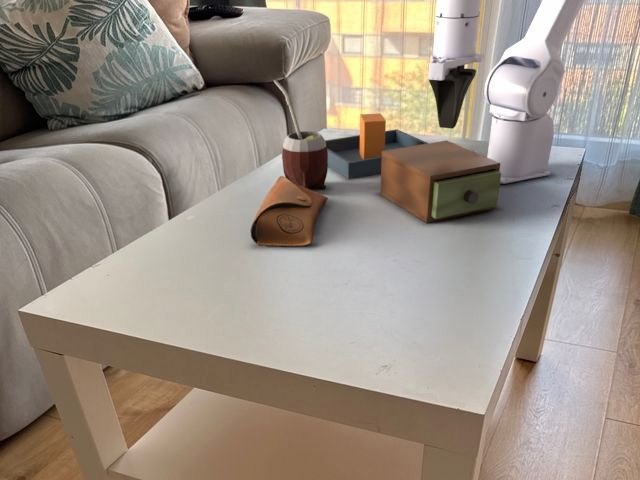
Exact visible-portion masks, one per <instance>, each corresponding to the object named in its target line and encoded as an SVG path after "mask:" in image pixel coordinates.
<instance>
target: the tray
mask: <svg viewBox="0 0 640 480" xmlns="http://www.w3.org/2000/svg"><path fill="white" fill-rule="evenodd" d="M324 140H325V142H326V146H327V151H328V168H331V169H332V170H333V171H335V172H337V173H338V174H340V175H341V176H343V177H345V178H347V179H348V180H349V179H354V178H360V177H365V176H372V175H377V174H381V161H382V156H381V157H375V158H369V159H362V157H361V155H360V134H358V135H351V136H350V135H349V136H344V137H338V138H332V139H324ZM428 143H429V142H427V141H424V140H423V139H420V138H418V137H416V136H413V135H411V134H409V133H407V132H404V131H403V130H400V129H398V128H396V129H389V130H385V151H386V150H392V149H398V148H404V147H410V146H416V145H422V144H428Z"/></svg>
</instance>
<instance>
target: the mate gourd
mask: <svg viewBox="0 0 640 480" xmlns="http://www.w3.org/2000/svg"><path fill="white" fill-rule="evenodd" d="M273 82H274V84H275V85H276V87H278V89H279V90H280V91H281V92H282V94H283V96H284V97H285V102H286V105H287V106H288V109H289V112H290V115H291V118H292V122H293V125H294V129H295V131H294V132H291V133H289V134H288V135H287V136H286V138H285V139H284V141H283V144H282V151H281V161H282V169H283V174H284V177H286V178H287V179H288V180H290V181H291V182H292V183H295V184H297V185H300V186H302V187H304V188H307V189H310V190H312V191H319V190H320V191H325V190H326V189H327V185H325V183H326V179H327V175H328V168H329V166H328V151H327V146H326V142H325V140H326V139H325V138H324V137H323V135H322V134H321V133H319V132H316V131H310V130H307V131H306V130H305V131H301V130H300V127H299V122H298V120H297V116H296V112H295V110H294V105H293V100H292V97H291V96H290V95H289V93H288V91H287V90H286V89H285V88H284V86H283V85H281V83H280V82H279V81H278V80H277V79H275V78H274V79H273Z"/></svg>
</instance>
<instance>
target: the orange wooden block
mask: <svg viewBox="0 0 640 480" xmlns="http://www.w3.org/2000/svg"><path fill="white" fill-rule="evenodd" d="M386 123H387V121H386V119H385V117H384V116H383V114H382V113H381V112H380V113H379V112H378V113H364V114H363V113H361V114H360V115H359V135H360V155H361V157H362V159H369V158H375V157H381V156H382V151H385V131H386V128H387V125H386Z"/></svg>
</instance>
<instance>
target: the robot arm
mask: <svg viewBox="0 0 640 480" xmlns="http://www.w3.org/2000/svg"><path fill="white" fill-rule="evenodd" d="M584 2H585V0H542V1H541V3H540V5H539V7H538V9H537V11H536V13H535V15H534V17H533V19H532V21H531V24H530V26H529V27H528V30H527V32H526V33H525V36H524V37H523V38H522V39H521V40H519V41H518V42H516V43H514V44H512V45H511V46H509V47H508V48H506V49H505V51H504V52H503V55H502V56H501V58H500V59H499V61H498V62H497V63H496V64H495V65H494V66H493V67H492V68H491V69H490V72H489V73H488V74H487V77H486V79H485V82H484V83H485V84H484V92H483V93H484V99H485V101H486V103H487V105H488V106H489V113H490V114H492V117H491V123H490V133H489V139H488V147H487V155H486V157H487V158H489V159H492V160H494V161H497V162H499V163H500V171H499V172H501V179H500V184H503V185H504V184H510V183H511V184H512V183H515V182H521V181H525V180H531V179H536V178H541V177H546V176H549V175H551V171H550V170H548V166H549V161H550V158H551V157H550V156H551V152H552V146H553V140H554V135H555V125H554V121H553V118H552V117H551V116H550V114H548V112H549V111H550V109H551V108H552V106H553V105H554V103H555V101H556V99H557V95H558V93H559V92H558V91H559V86H560V84H561V81H562V79H563V77H564V75H565V73H566V70H565V66H564V64H563V61H562V59H561V57H560V55H559V51H560V49H561V47H562V45H563V44H564V41H565V40H566V38H567V36H568V34H569V32H570V30H571V28H572V26H573V24H574V22H575V20H576V18H577V16H578V15H579V12H580V11H581V8H582V6H583V4H584ZM435 6H436V7H435V18H434V19H435V20H434V21H435V22H434V35H433V49H432V53H431V56H430V62H429V64H428V74H427V75H428V77H427V79H428V82H429V84H430V86H431V88H432V92H433V96H434V100H435V105H436V112H437V121H438V126H439V128H440V129H441V128H442V129H450V130H451V129H454V128H455V127H457V124H458V121H459V118H460V115H461V111H462V107H463V104H464V101H465V97H466V96H467V92H468V90H469V88H470V86H471V84H472V82H473V80H474V79H475V77H476V75H477V70H476V69H475V68H465V65H470V64H473V63H482V62H483V61H484V60H485V54H483V53H477V44H478V35H479V26H480V18H481V17H480V16H481V7H482V0H436V4H435Z"/></svg>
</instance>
